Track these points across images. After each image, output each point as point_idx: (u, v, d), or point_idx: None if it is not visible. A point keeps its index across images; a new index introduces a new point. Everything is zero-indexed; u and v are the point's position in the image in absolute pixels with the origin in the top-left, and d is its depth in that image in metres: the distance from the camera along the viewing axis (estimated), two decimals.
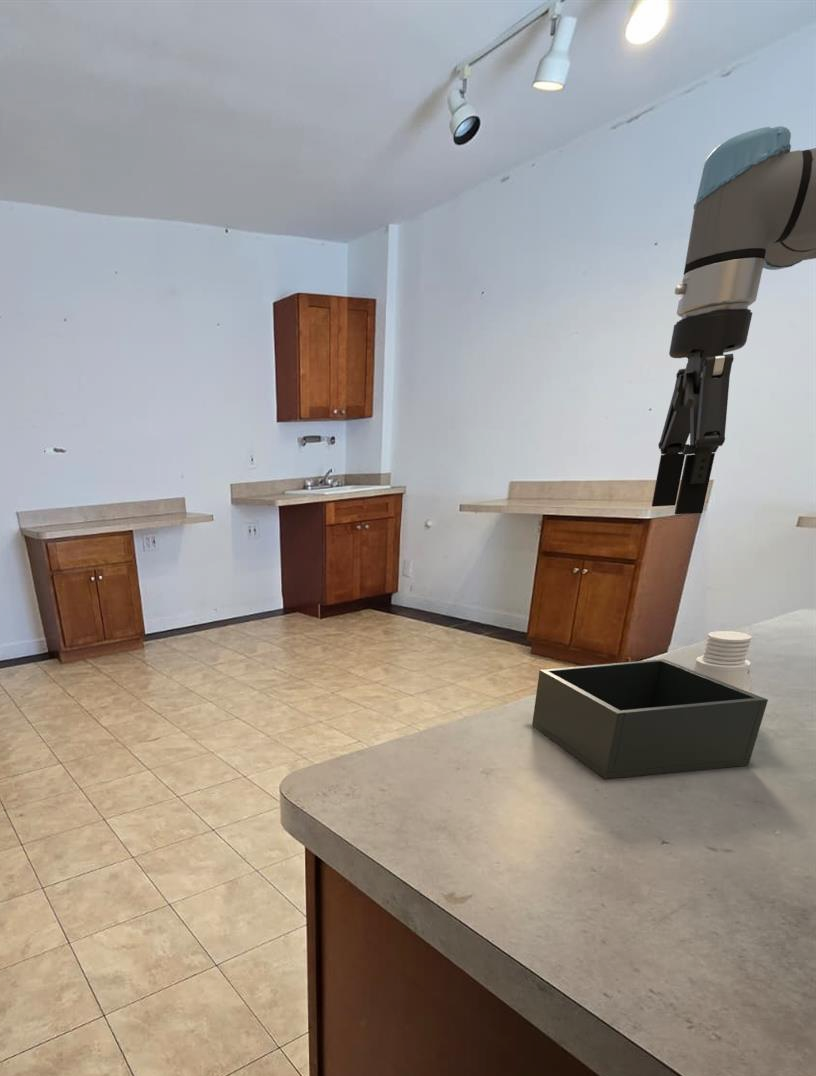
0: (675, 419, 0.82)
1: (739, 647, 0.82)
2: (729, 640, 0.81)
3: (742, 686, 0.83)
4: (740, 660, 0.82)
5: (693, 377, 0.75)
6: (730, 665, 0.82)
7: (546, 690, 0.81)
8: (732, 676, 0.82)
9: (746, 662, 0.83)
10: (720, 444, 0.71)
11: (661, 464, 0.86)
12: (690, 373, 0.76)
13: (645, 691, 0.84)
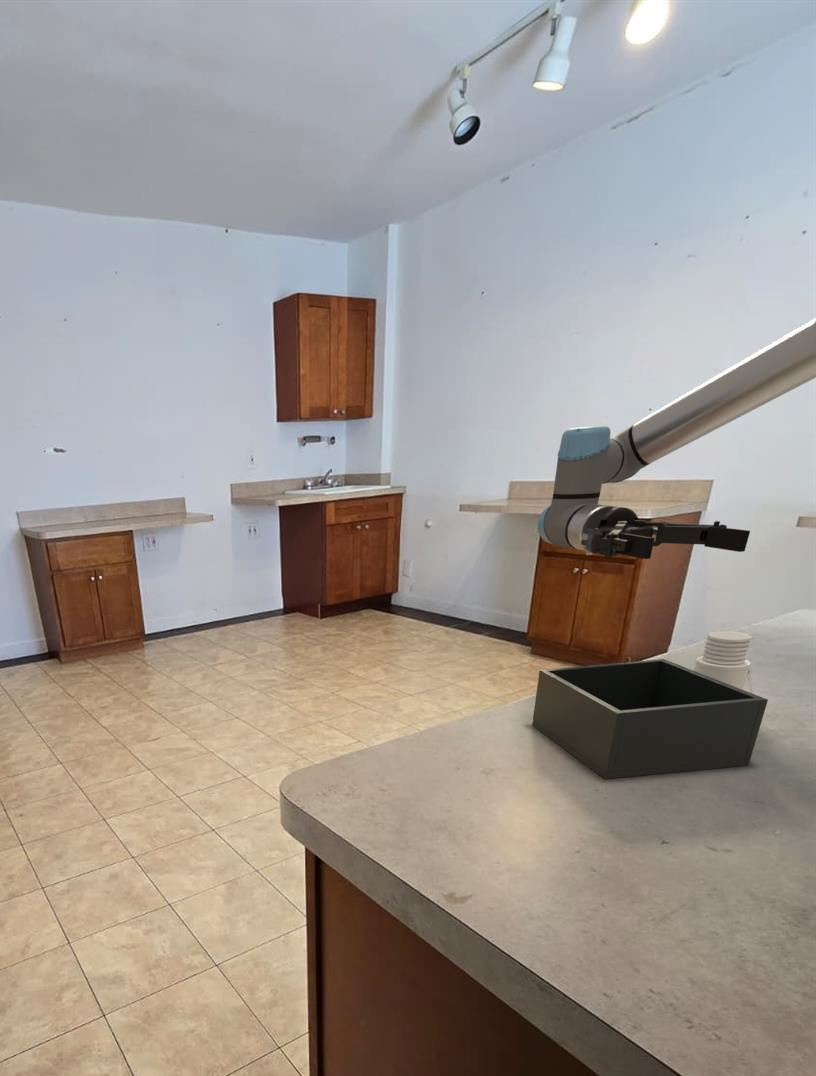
0: (669, 542, 0.97)
1: (739, 647, 0.82)
2: (729, 640, 0.81)
3: (742, 686, 0.83)
4: (740, 660, 0.82)
5: None
6: (730, 665, 0.82)
7: (546, 690, 0.81)
8: (732, 676, 0.82)
9: (746, 662, 0.83)
10: (597, 536, 0.92)
11: (710, 546, 0.92)
12: None
13: (645, 691, 0.84)
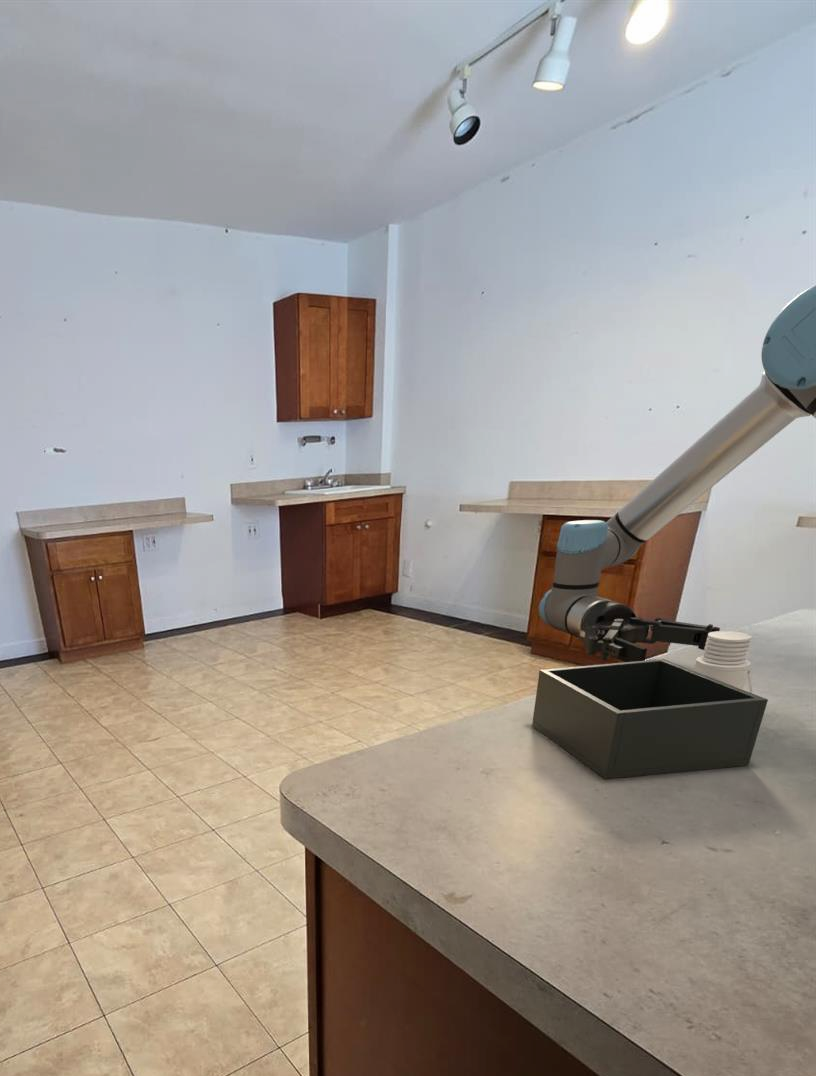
0: (664, 641, 1.00)
1: (739, 647, 0.82)
2: (729, 640, 0.81)
3: (742, 686, 0.83)
4: (740, 660, 0.82)
5: None
6: (730, 665, 0.82)
7: (546, 690, 0.81)
8: (732, 676, 0.82)
9: (746, 662, 0.83)
10: (592, 640, 0.96)
11: (703, 649, 0.95)
12: None
13: (645, 691, 0.84)
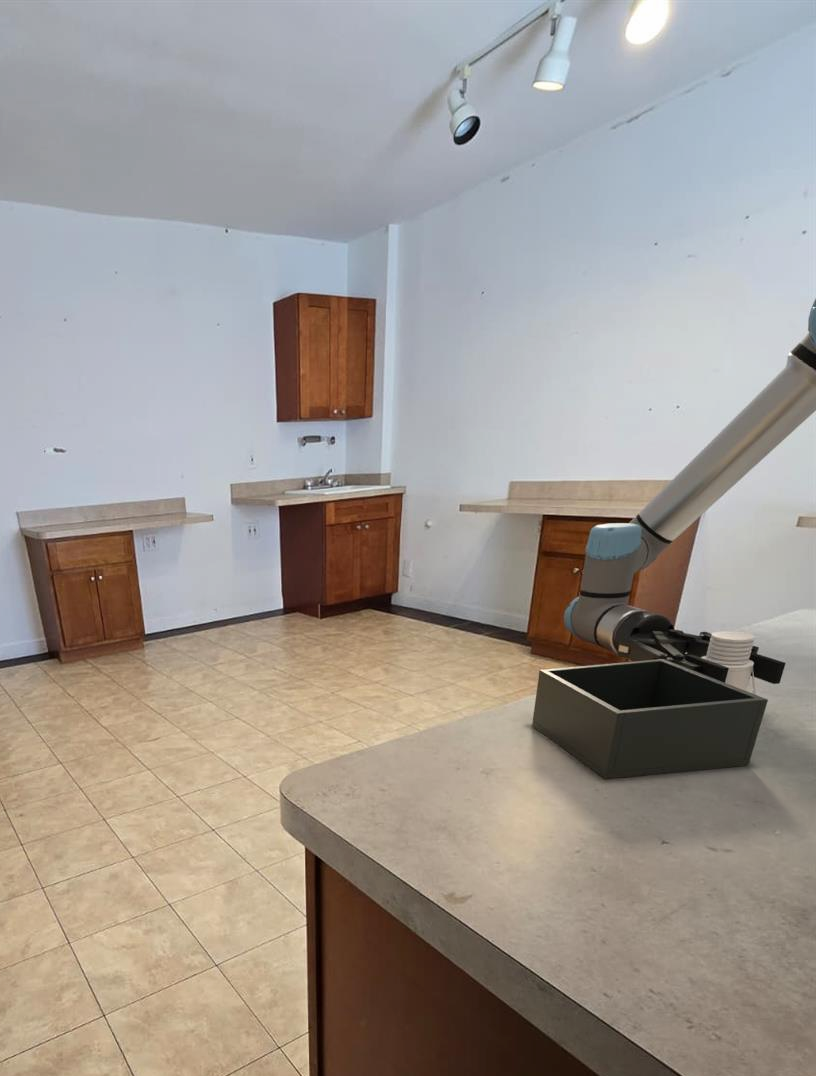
0: (700, 658, 0.91)
1: (742, 647, 0.81)
2: (732, 640, 0.81)
3: (745, 686, 0.83)
4: (743, 660, 0.82)
5: None
6: (733, 665, 0.82)
7: (546, 690, 0.81)
8: (735, 677, 0.82)
9: (749, 662, 0.83)
10: (663, 657, 0.86)
11: None
12: None
13: (645, 691, 0.84)
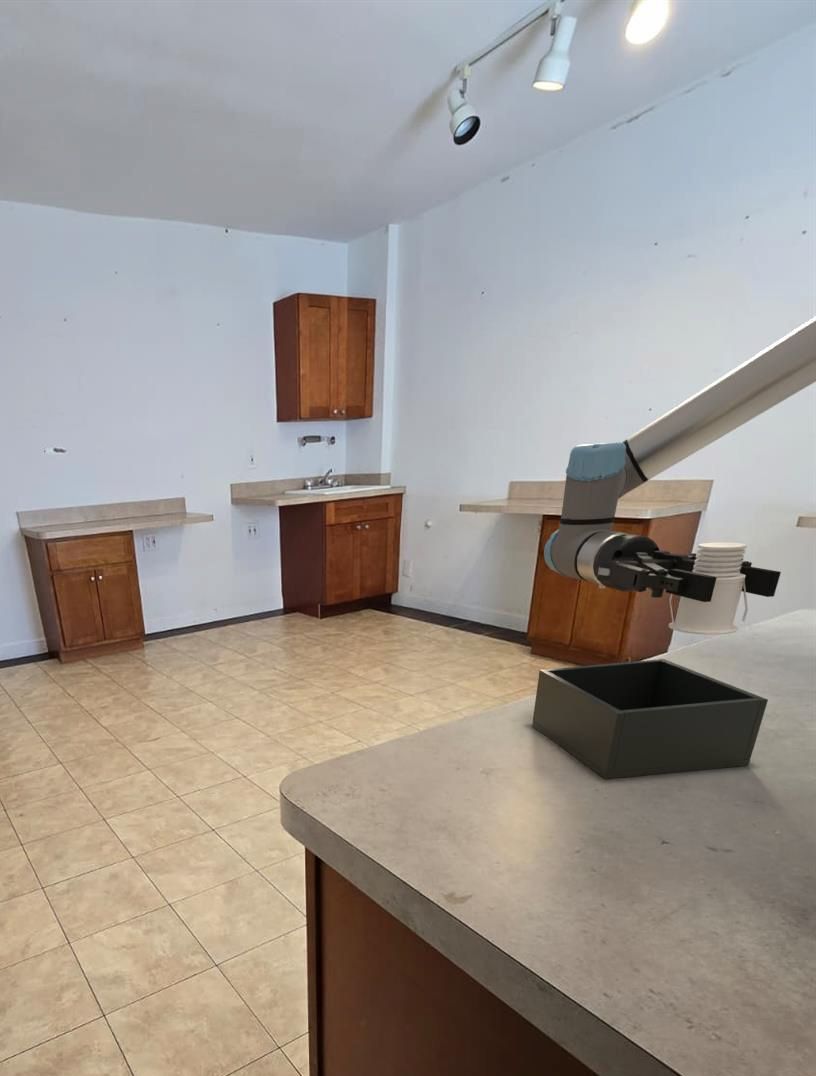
0: None
1: (733, 556, 0.73)
2: (721, 548, 0.72)
3: (736, 602, 0.74)
4: (734, 572, 0.74)
5: None
6: (722, 578, 0.74)
7: (546, 690, 0.81)
8: (724, 590, 0.73)
9: (741, 575, 0.74)
10: (645, 573, 0.77)
11: None
12: None
13: (645, 691, 0.84)
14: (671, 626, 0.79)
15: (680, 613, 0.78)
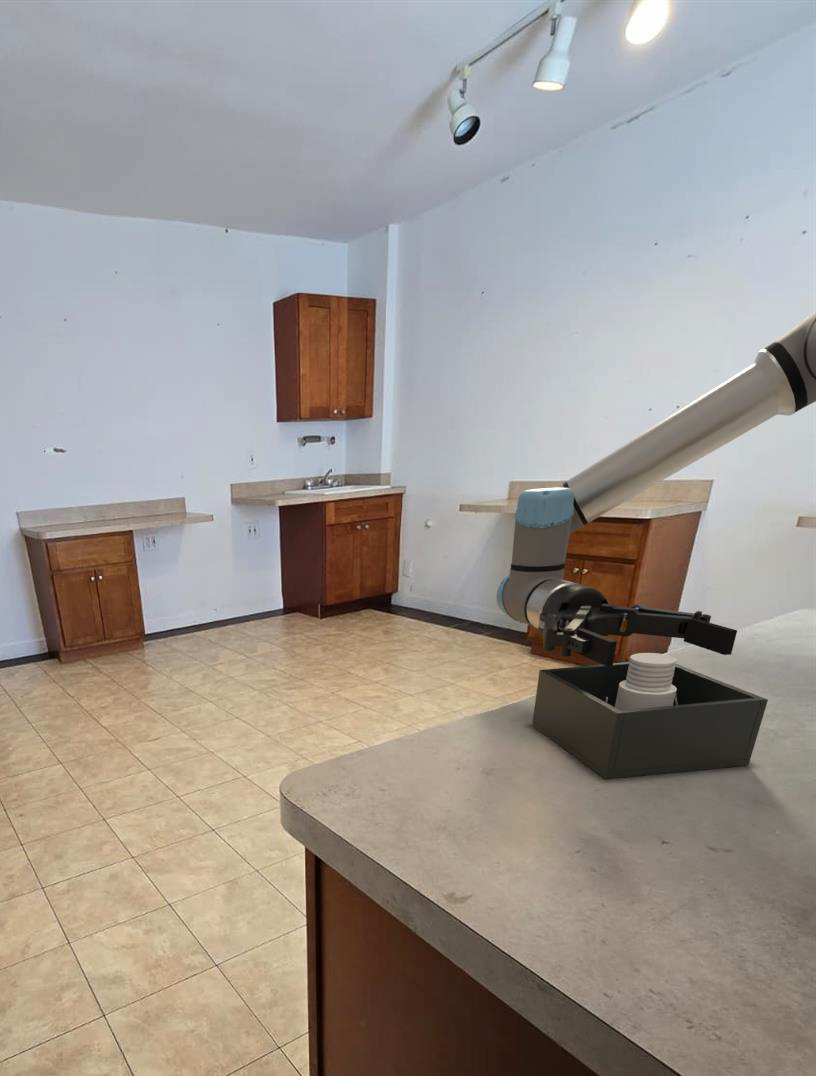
0: (642, 632, 0.80)
1: (663, 672, 0.73)
2: (651, 664, 0.72)
3: None
4: (665, 686, 0.73)
5: None
6: (653, 692, 0.73)
7: (546, 690, 0.81)
8: (655, 705, 0.73)
9: (672, 688, 0.74)
10: (550, 632, 0.76)
11: (690, 642, 0.76)
12: None
13: None
14: None
15: None
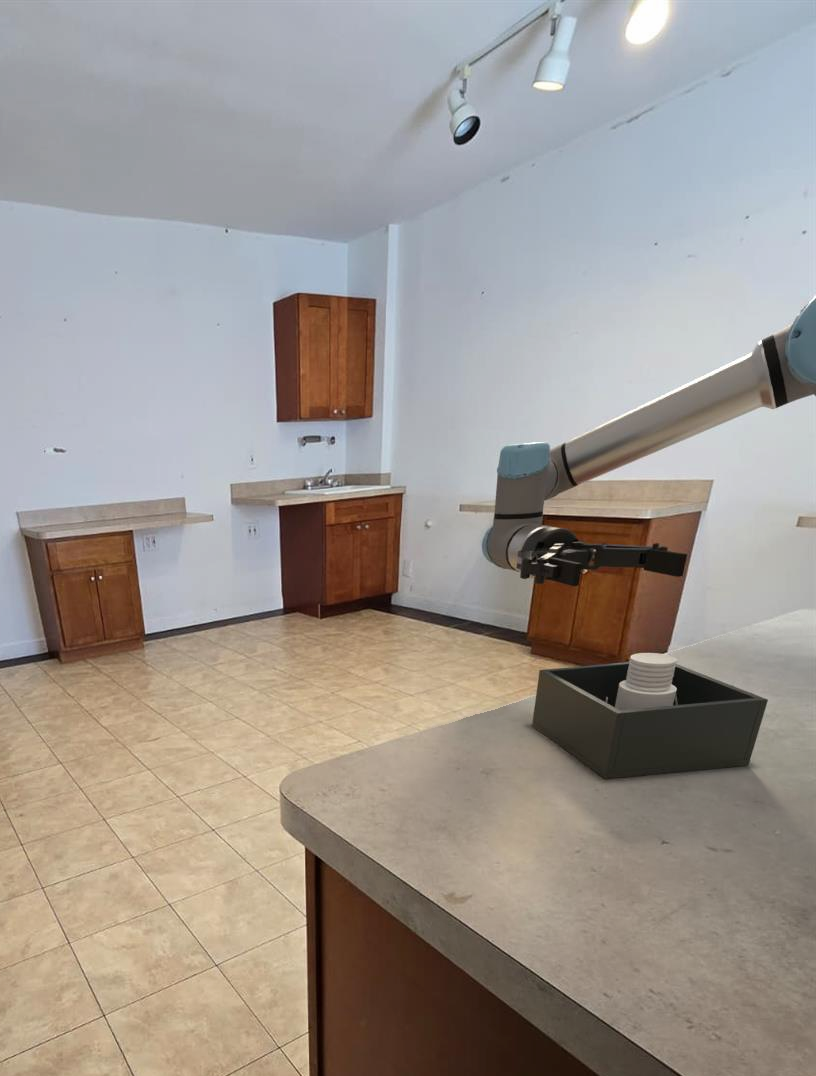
0: (608, 565, 0.90)
1: (663, 672, 0.73)
2: (651, 664, 0.72)
3: None
4: (665, 686, 0.73)
5: None
6: (653, 692, 0.73)
7: (546, 690, 0.81)
8: (655, 705, 0.73)
9: (672, 688, 0.74)
10: (525, 561, 0.86)
11: (649, 570, 0.86)
12: None
13: None
14: None
15: None
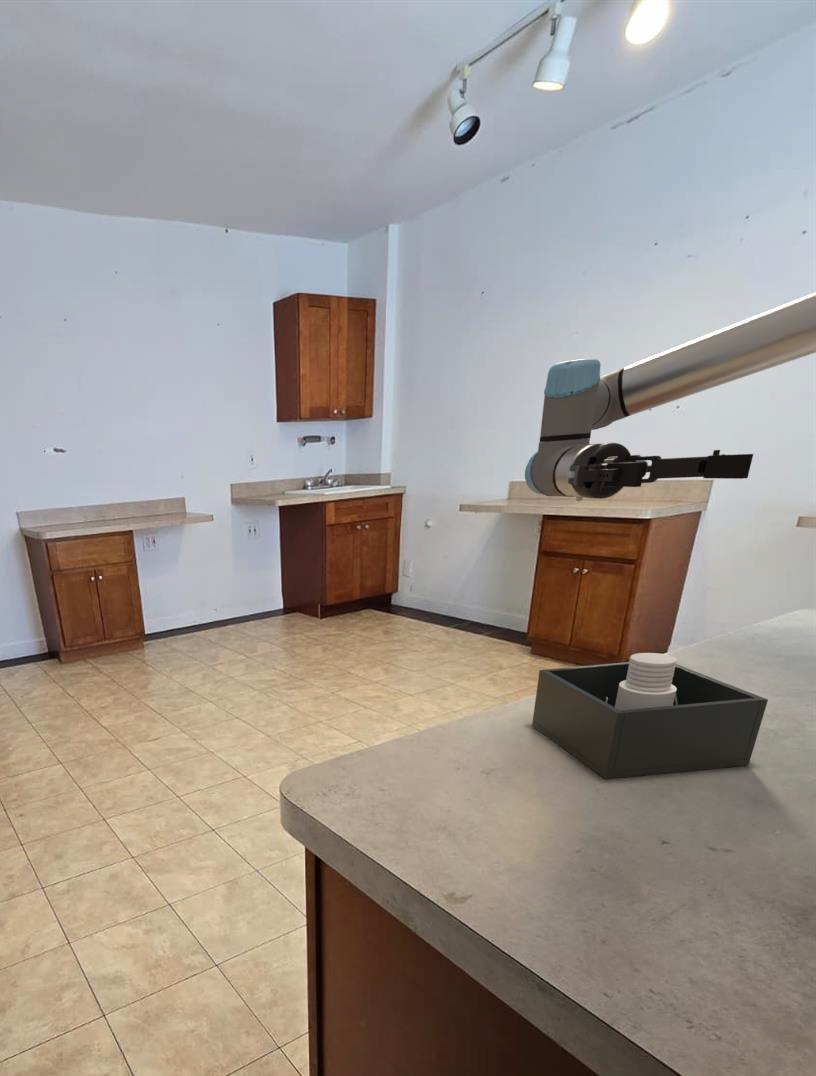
0: (665, 476, 0.88)
1: (663, 672, 0.73)
2: (651, 664, 0.72)
3: None
4: (665, 686, 0.73)
5: None
6: (653, 692, 0.73)
7: (546, 690, 0.81)
8: (655, 705, 0.73)
9: (672, 688, 0.74)
10: (582, 468, 0.84)
11: (709, 477, 0.83)
12: None
13: None
14: None
15: None
